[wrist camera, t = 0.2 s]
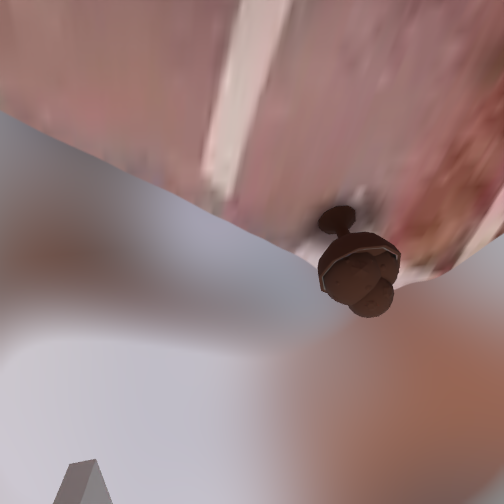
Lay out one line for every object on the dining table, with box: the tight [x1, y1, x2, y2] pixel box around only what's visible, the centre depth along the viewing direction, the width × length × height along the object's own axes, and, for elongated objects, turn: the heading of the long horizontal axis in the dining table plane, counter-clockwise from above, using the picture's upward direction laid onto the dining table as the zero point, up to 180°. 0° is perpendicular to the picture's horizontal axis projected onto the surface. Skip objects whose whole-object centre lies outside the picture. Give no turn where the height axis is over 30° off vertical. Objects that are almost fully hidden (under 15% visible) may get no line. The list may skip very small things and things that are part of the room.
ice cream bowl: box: [318, 206, 401, 318], centre depth 57 cm, size 11×11×15 cm
